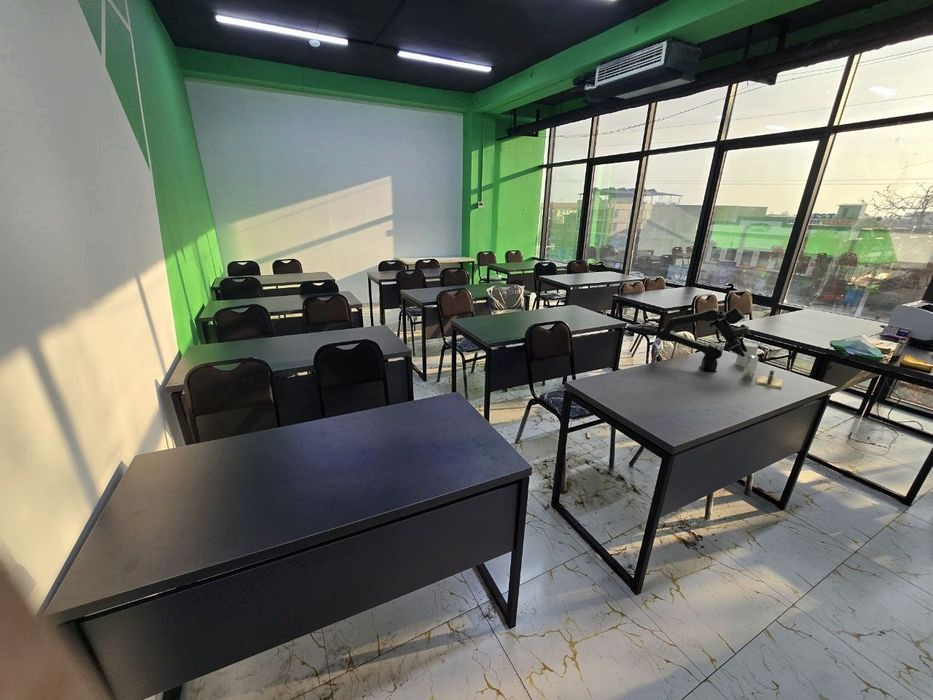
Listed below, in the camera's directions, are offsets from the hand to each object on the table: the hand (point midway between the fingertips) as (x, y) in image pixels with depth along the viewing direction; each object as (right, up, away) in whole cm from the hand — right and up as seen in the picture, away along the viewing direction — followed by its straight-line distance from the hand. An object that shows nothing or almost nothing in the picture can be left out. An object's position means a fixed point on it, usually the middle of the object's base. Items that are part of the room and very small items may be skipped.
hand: (745, 353), depth 200 cm
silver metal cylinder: (+3, -13, +2) cm, 13 cm away
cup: (+14, -6, +20) cm, 25 cm away
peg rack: (+10, -14, -3) cm, 18 cm away
